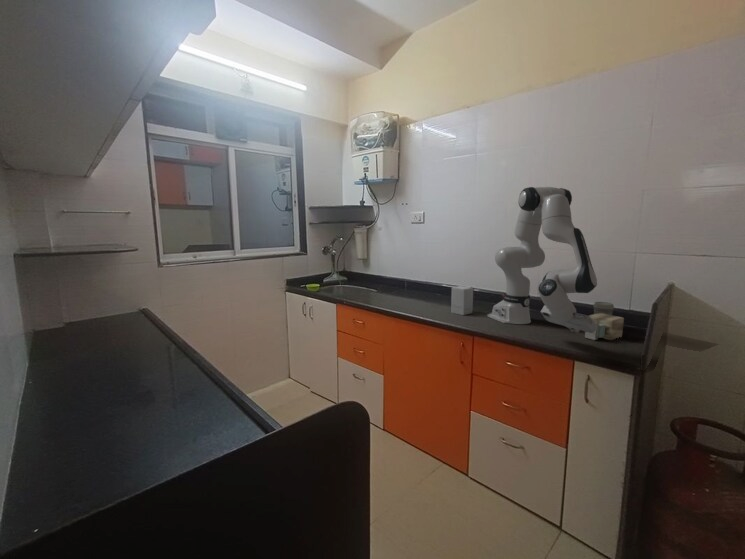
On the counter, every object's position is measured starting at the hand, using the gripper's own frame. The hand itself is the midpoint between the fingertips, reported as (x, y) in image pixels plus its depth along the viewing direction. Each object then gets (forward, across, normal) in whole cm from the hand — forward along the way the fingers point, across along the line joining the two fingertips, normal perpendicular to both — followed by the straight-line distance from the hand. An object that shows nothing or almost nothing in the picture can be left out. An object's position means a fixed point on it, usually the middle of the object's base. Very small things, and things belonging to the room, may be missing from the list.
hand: (575, 330), depth 144 cm
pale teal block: (+14, 0, -7) cm, 15 cm away
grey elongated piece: (+18, 0, -10) cm, 20 cm away
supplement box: (0, +63, +9) cm, 63 cm away
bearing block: (+19, 0, -11) cm, 22 cm away
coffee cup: (+28, +8, -20) cm, 36 cm away
